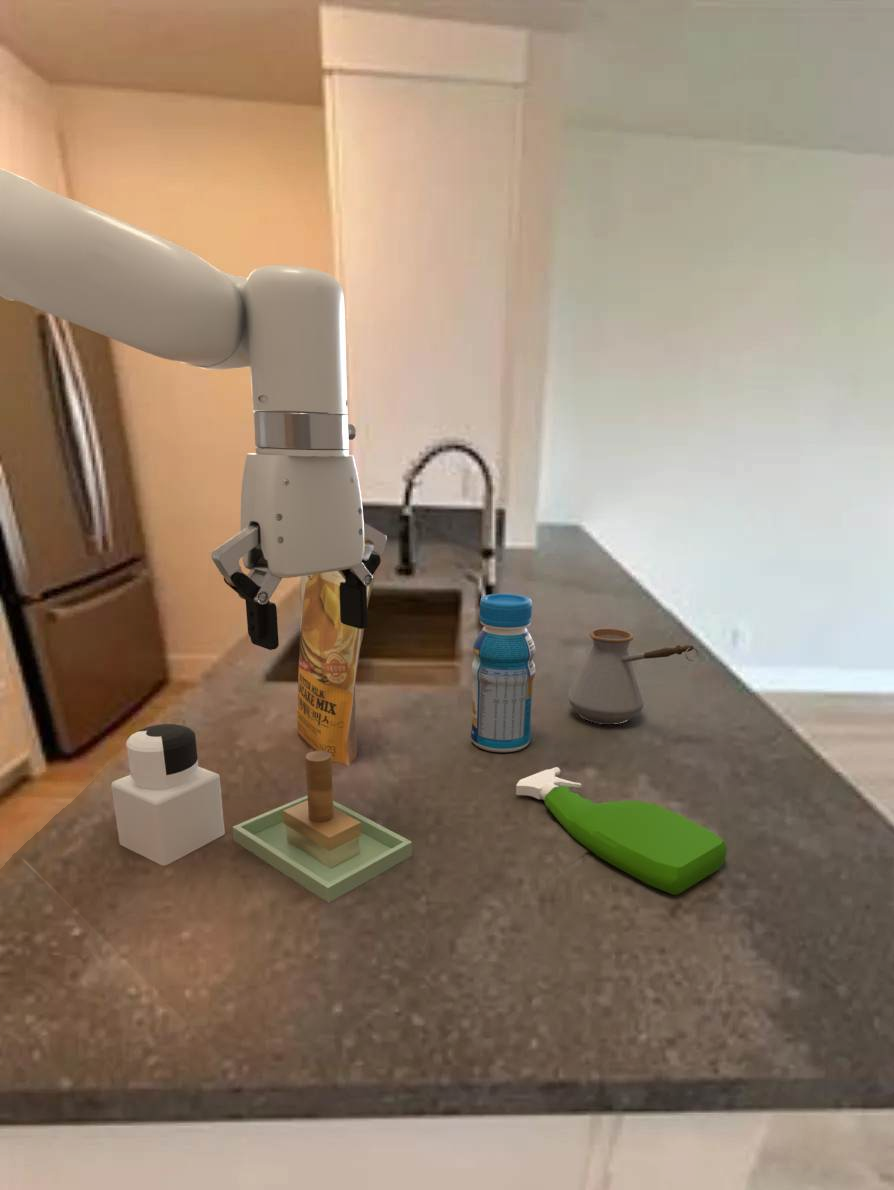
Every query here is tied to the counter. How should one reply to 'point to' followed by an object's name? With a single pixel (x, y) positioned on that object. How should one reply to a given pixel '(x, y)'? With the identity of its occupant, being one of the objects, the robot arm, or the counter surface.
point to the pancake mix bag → (327, 668)
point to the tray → (328, 883)
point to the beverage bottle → (503, 674)
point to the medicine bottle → (166, 796)
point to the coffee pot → (612, 678)
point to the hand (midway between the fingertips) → (311, 635)
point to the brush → (321, 817)
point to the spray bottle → (632, 834)
